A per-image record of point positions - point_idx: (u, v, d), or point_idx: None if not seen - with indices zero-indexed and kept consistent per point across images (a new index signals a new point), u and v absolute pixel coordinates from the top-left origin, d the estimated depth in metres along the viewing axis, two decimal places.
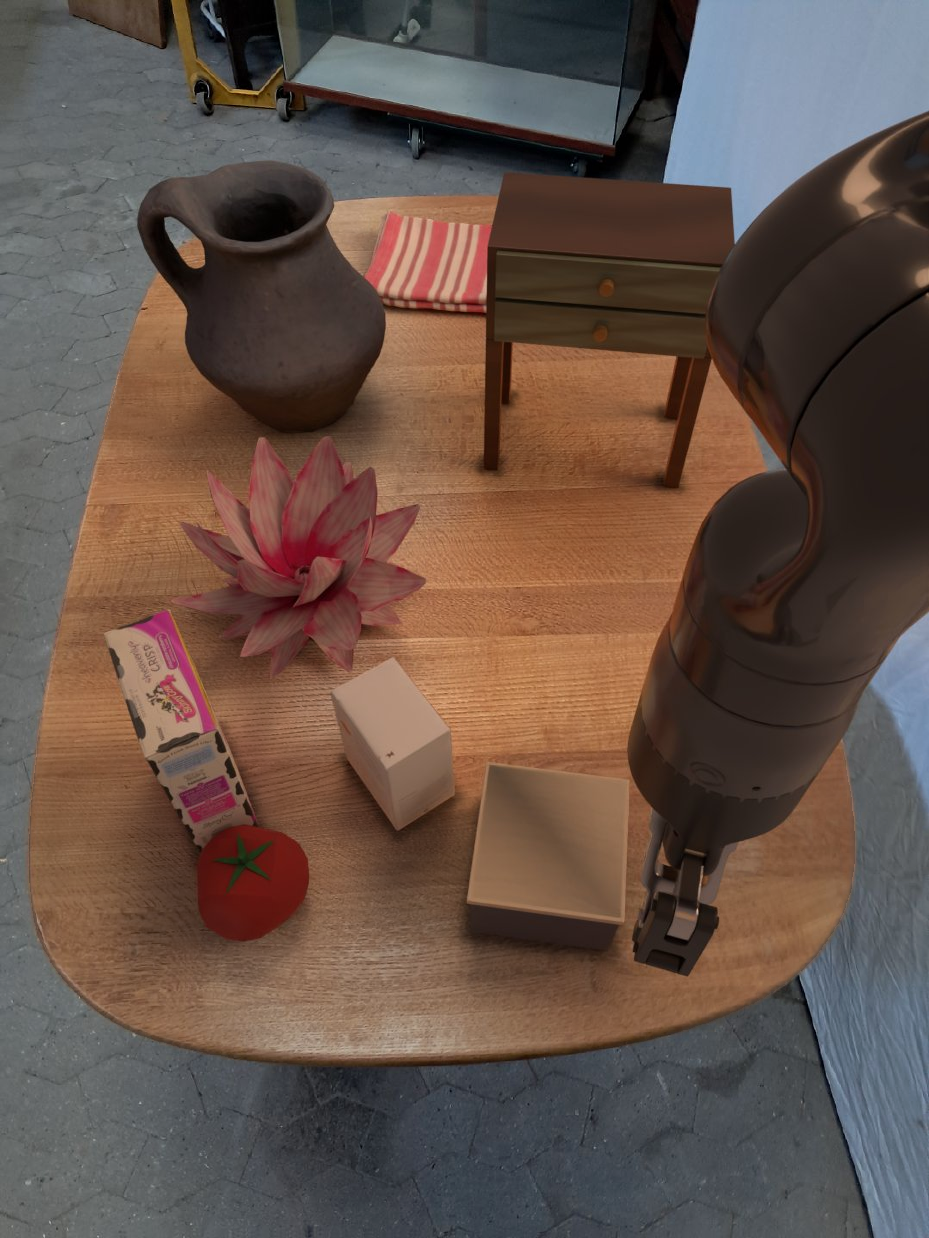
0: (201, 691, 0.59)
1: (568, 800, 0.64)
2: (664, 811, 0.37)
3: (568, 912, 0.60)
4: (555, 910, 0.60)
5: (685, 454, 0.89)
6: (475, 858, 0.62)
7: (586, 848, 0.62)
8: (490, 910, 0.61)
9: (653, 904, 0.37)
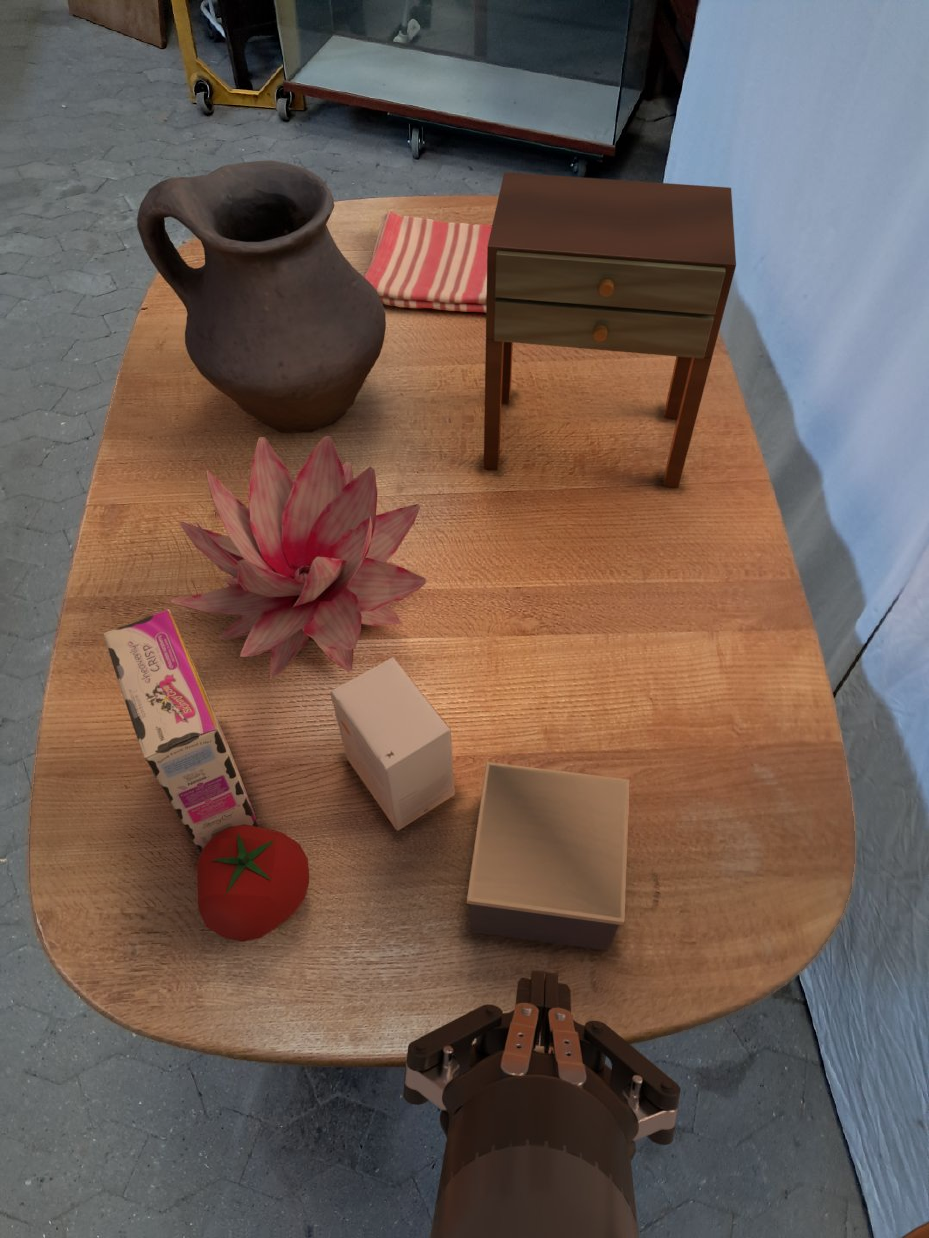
0: (201, 691, 0.59)
1: (568, 800, 0.64)
2: None
3: (568, 912, 0.60)
4: (555, 910, 0.60)
5: (685, 454, 0.89)
6: (475, 858, 0.62)
7: (586, 848, 0.62)
8: (490, 910, 0.61)
9: None
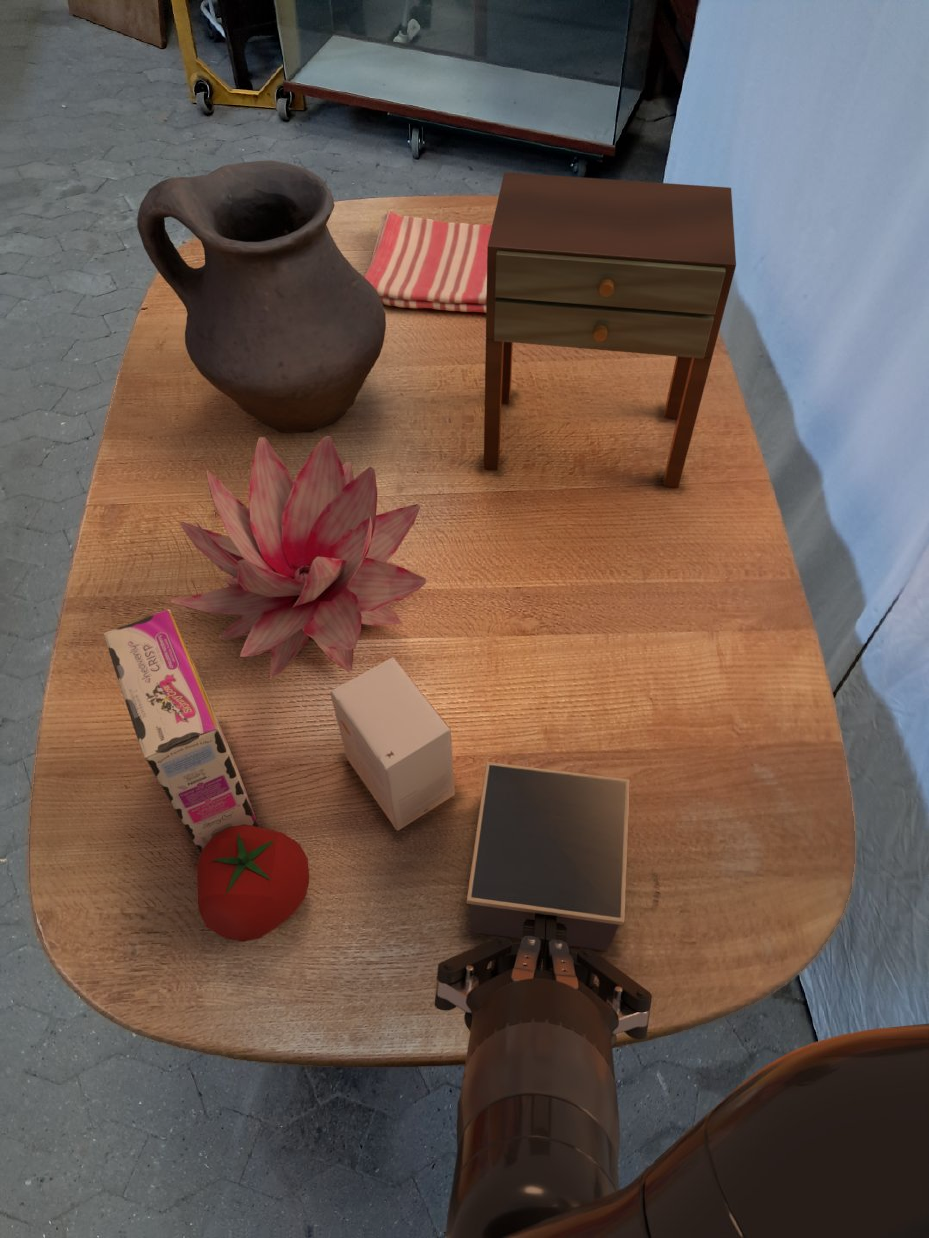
0: (201, 691, 0.59)
1: (568, 800, 0.64)
2: None
3: (568, 912, 0.60)
4: (555, 910, 0.60)
5: (685, 454, 0.89)
6: (475, 858, 0.62)
7: (586, 848, 0.62)
8: (490, 910, 0.61)
9: None
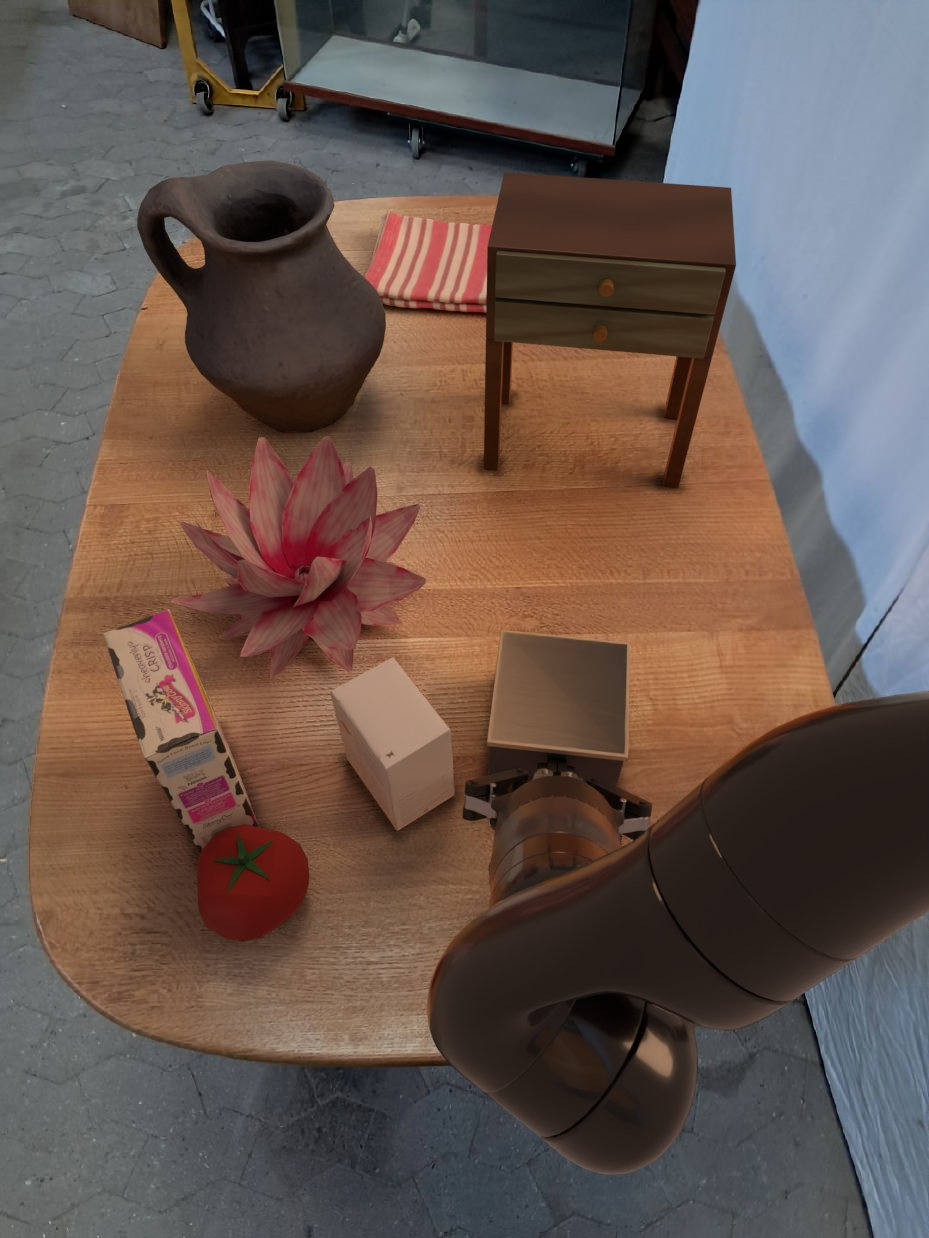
0: (201, 691, 0.59)
1: (576, 660, 0.71)
2: None
3: (578, 750, 0.67)
4: (566, 749, 0.67)
5: (685, 454, 0.89)
6: (493, 708, 0.69)
7: (592, 699, 0.69)
8: (507, 753, 0.68)
9: None
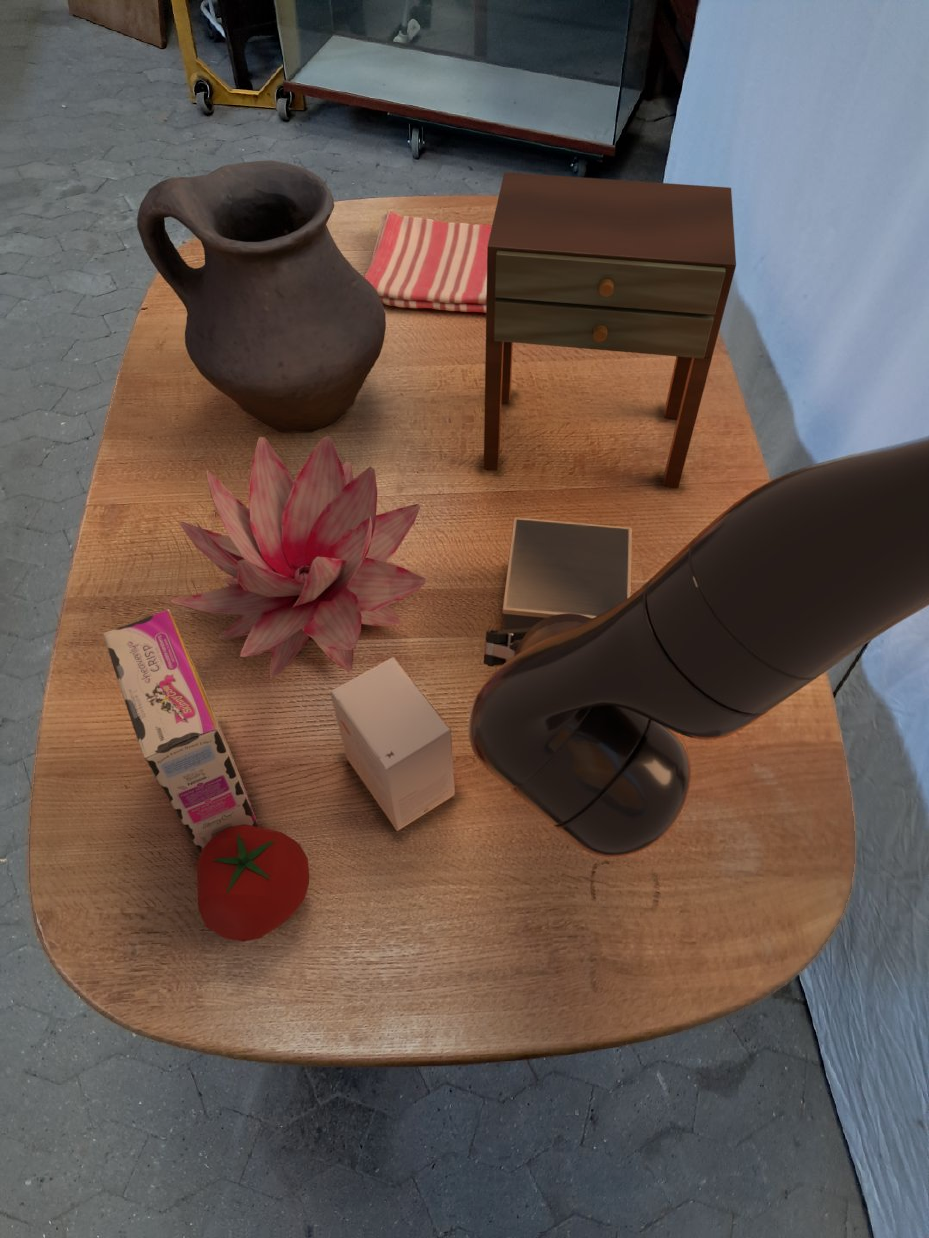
0: (201, 691, 0.59)
1: (582, 542, 0.79)
2: None
3: None
4: None
5: (685, 454, 0.89)
6: (508, 581, 0.76)
7: (597, 574, 0.77)
8: (521, 622, 0.76)
9: None
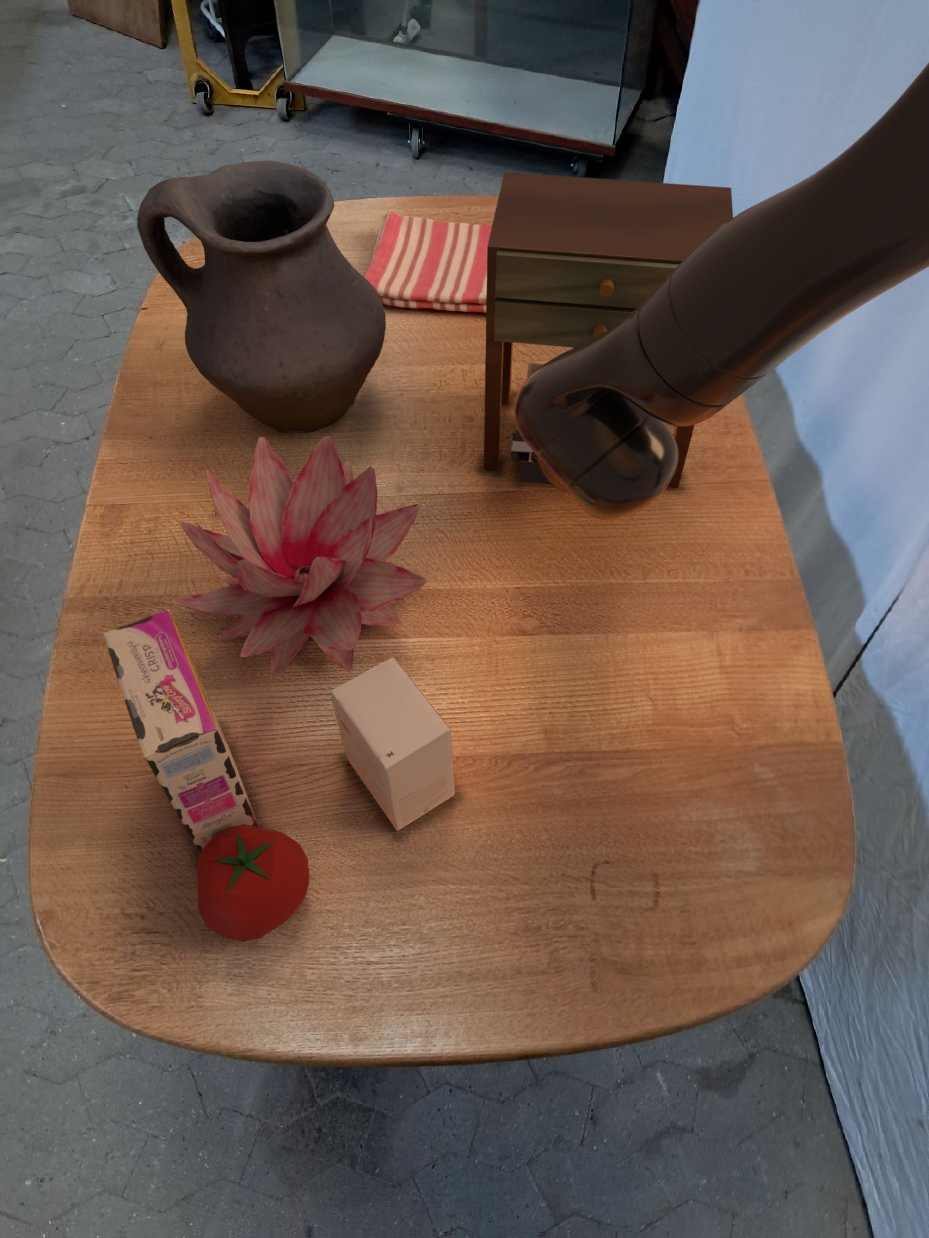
0: (200, 691, 0.59)
1: None
2: None
3: None
4: None
5: (685, 454, 0.89)
6: None
7: None
8: None
9: None
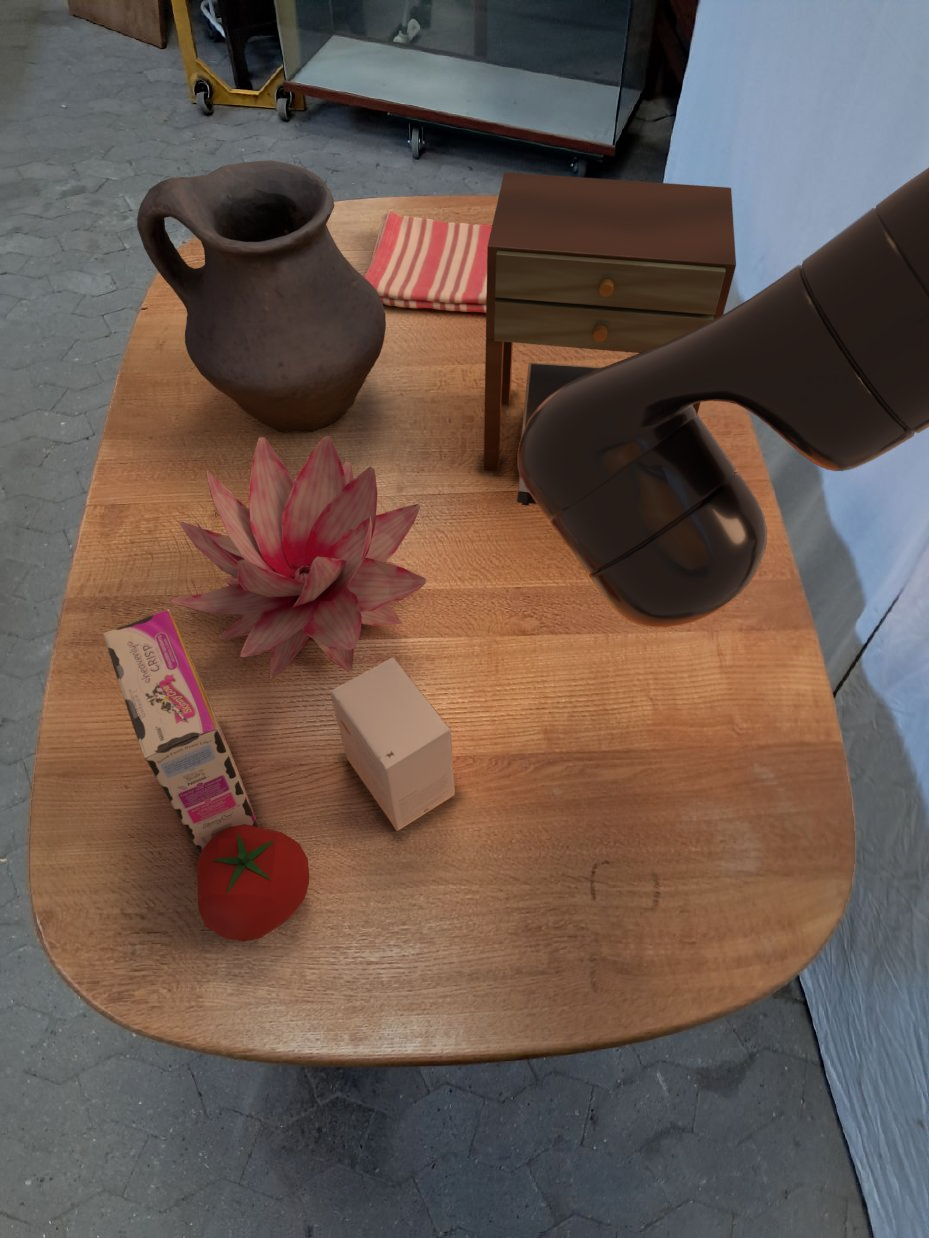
0: (201, 691, 0.59)
1: None
2: None
3: None
4: None
5: None
6: (526, 409, 0.89)
7: None
8: None
9: None
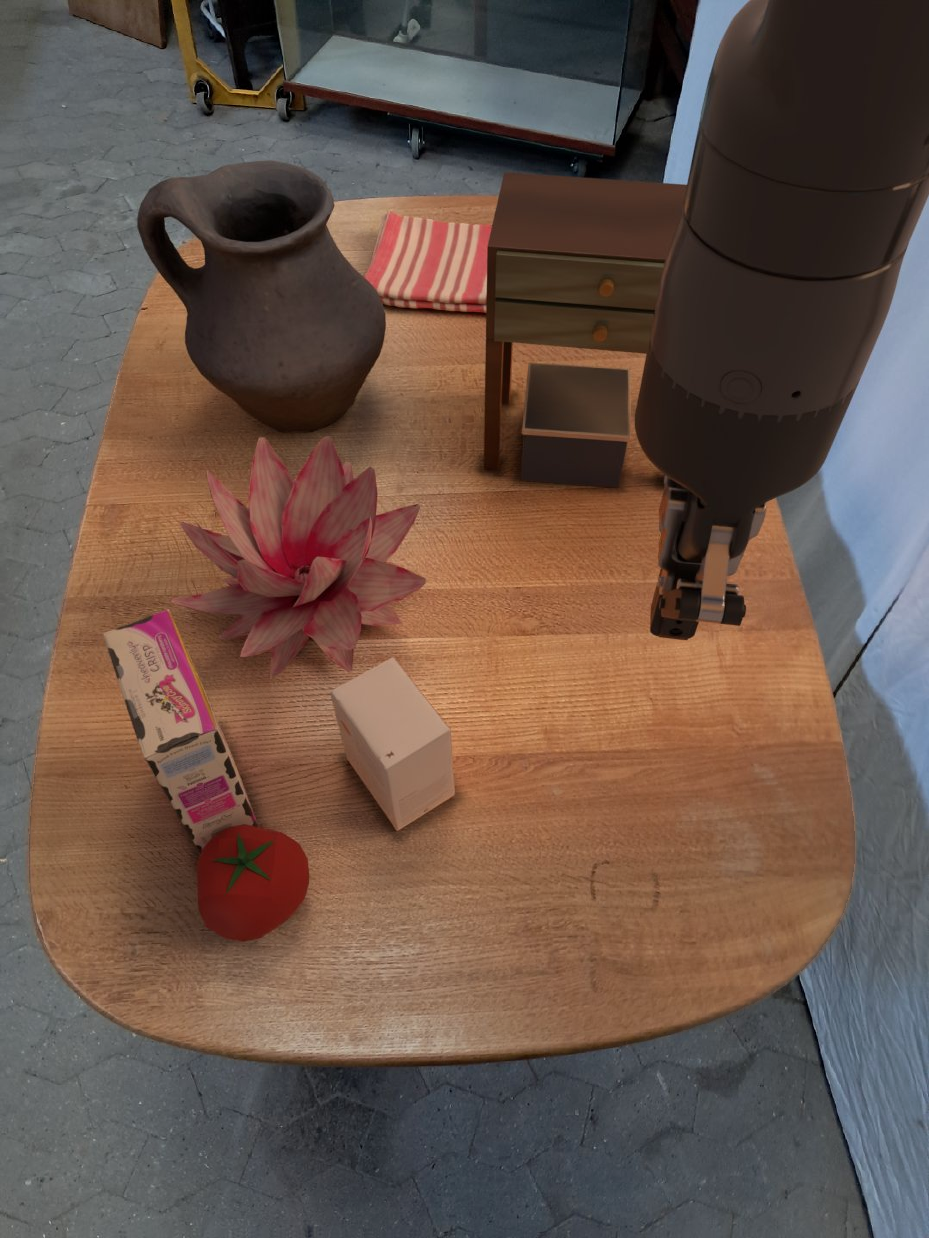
0: (200, 691, 0.59)
1: (588, 380, 0.92)
2: (688, 474, 0.33)
3: (592, 434, 0.87)
4: (583, 434, 0.87)
5: None
6: (525, 409, 0.89)
7: (602, 403, 0.90)
8: (537, 443, 0.89)
9: (676, 605, 0.36)
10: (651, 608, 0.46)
